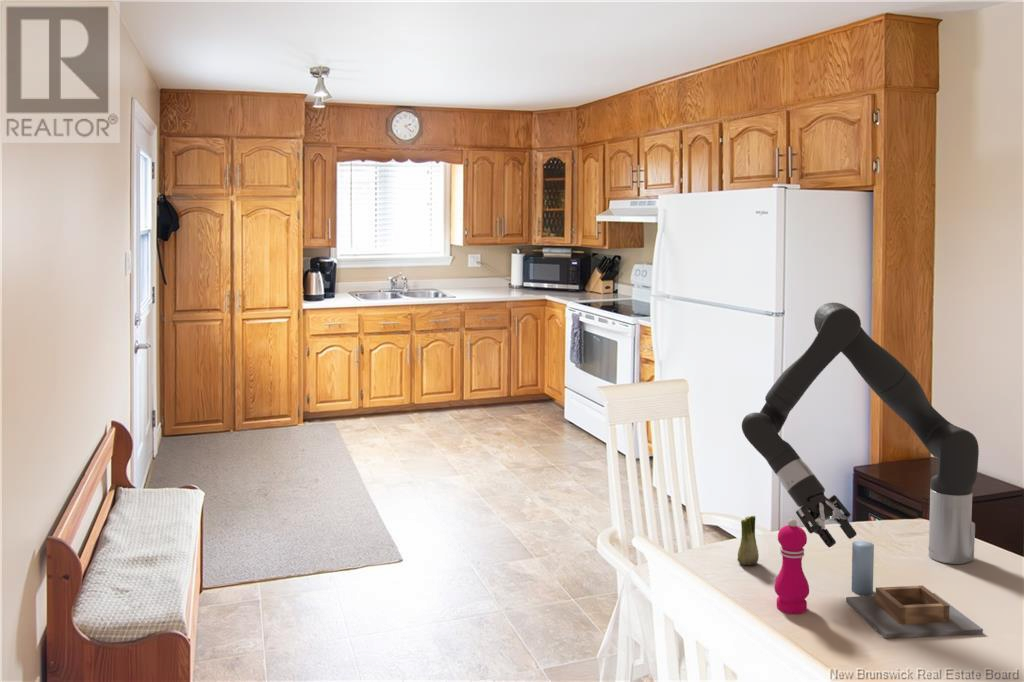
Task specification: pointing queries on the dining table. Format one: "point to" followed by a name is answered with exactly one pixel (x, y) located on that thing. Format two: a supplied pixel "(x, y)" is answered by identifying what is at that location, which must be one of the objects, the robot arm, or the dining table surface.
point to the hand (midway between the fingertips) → (843, 541)
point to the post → (862, 567)
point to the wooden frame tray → (911, 613)
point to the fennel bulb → (748, 543)
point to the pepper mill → (792, 570)
